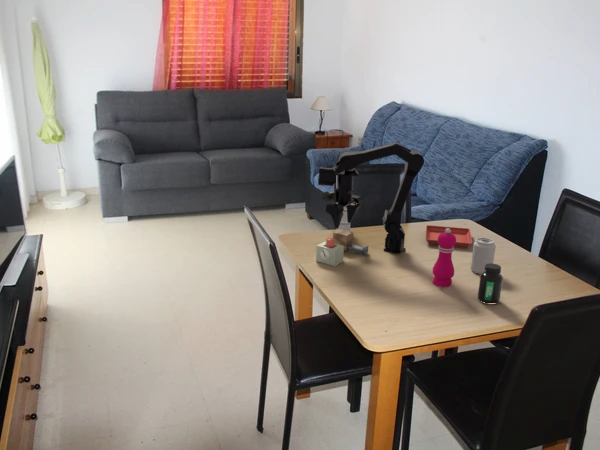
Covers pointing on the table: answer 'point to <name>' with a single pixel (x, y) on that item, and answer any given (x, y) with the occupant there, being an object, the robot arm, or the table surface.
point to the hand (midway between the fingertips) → (342, 225)
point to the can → (482, 254)
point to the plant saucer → (460, 233)
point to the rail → (358, 249)
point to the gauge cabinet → (329, 254)
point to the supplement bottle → (490, 284)
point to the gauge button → (330, 242)
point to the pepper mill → (444, 260)
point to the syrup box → (344, 221)
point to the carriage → (343, 238)
